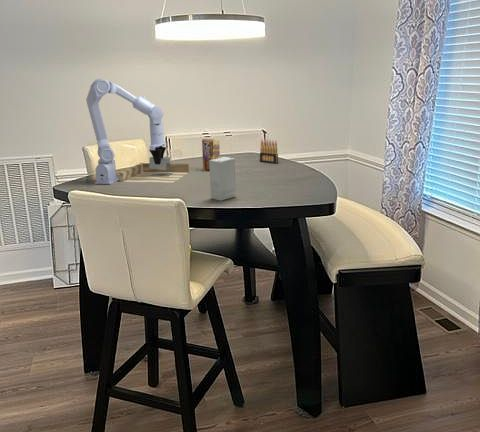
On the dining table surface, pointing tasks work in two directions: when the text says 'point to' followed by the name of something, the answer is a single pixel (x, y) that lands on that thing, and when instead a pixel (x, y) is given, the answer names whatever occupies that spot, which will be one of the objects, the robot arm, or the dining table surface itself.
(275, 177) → the dining table surface
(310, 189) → the dining table surface
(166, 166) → the bracket
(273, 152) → the ammunition clip
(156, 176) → the arena
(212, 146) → the candy box
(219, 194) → the skincare box
